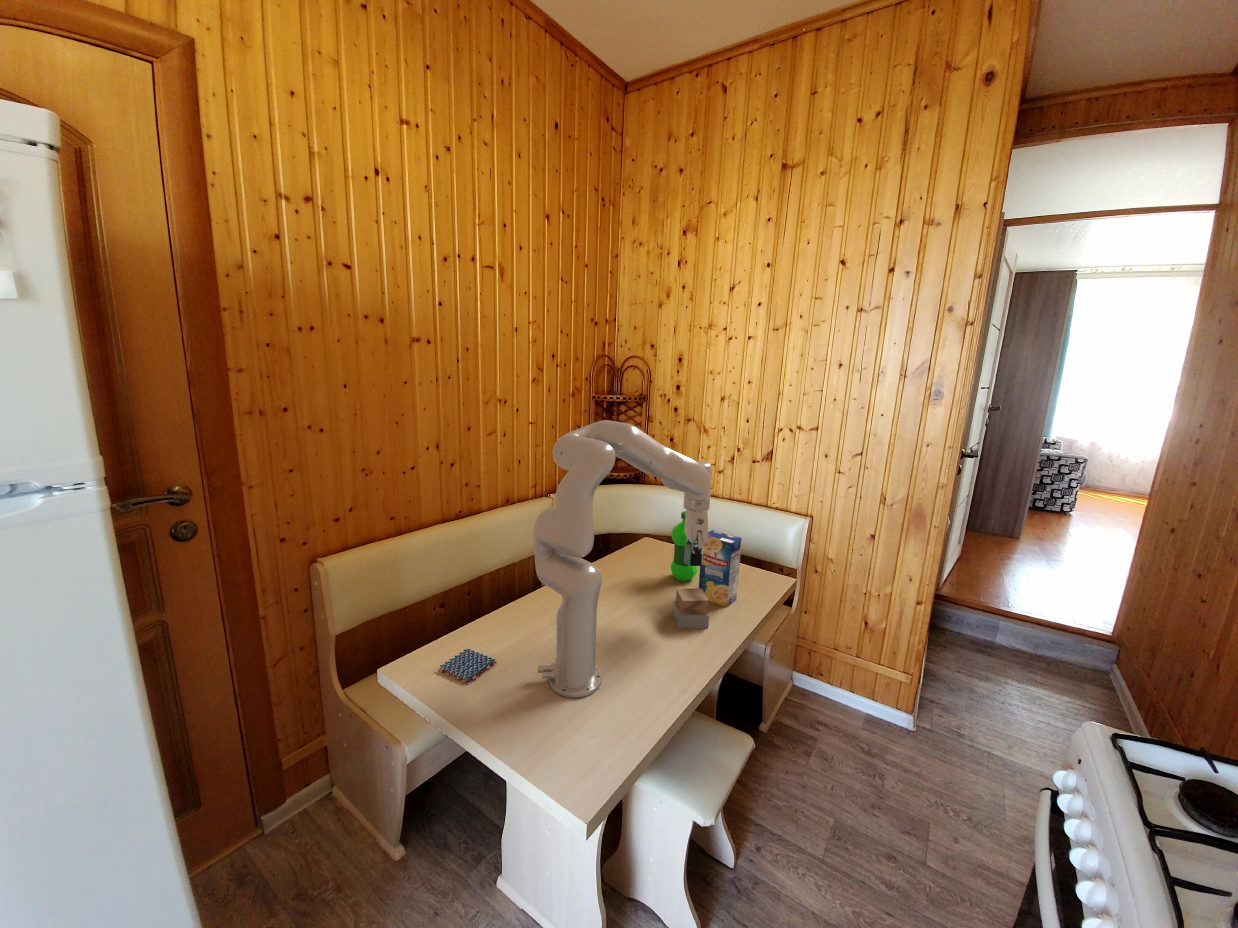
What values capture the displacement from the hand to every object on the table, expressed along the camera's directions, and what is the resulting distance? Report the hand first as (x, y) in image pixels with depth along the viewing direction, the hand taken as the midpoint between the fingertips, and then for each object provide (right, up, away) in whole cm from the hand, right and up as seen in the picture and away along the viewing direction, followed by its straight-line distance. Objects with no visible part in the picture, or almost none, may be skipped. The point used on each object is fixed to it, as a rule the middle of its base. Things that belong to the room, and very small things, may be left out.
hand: (693, 560), depth 148 cm
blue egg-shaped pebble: (0, -1, 0) cm, 0 cm away
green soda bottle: (+1, -13, +34) cm, 36 cm away
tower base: (0, -19, +4) cm, 20 cm away
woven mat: (-60, -23, -23) cm, 69 cm away
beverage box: (+11, -17, +19) cm, 27 cm away
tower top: (0, -15, +3) cm, 15 cm away
